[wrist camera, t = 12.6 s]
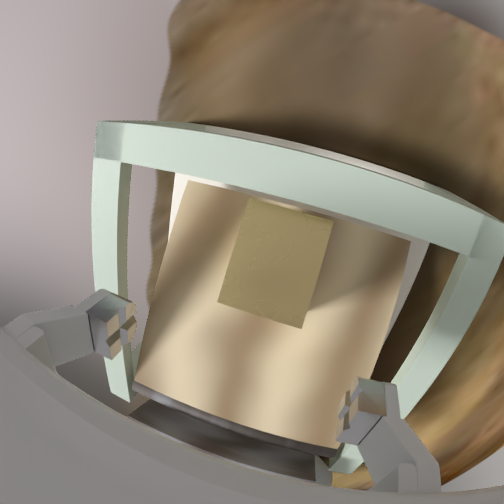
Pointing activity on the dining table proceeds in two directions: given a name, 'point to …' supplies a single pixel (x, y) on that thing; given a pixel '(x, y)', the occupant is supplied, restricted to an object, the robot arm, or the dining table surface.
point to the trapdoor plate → (260, 341)
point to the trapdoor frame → (307, 197)
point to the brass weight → (275, 262)
